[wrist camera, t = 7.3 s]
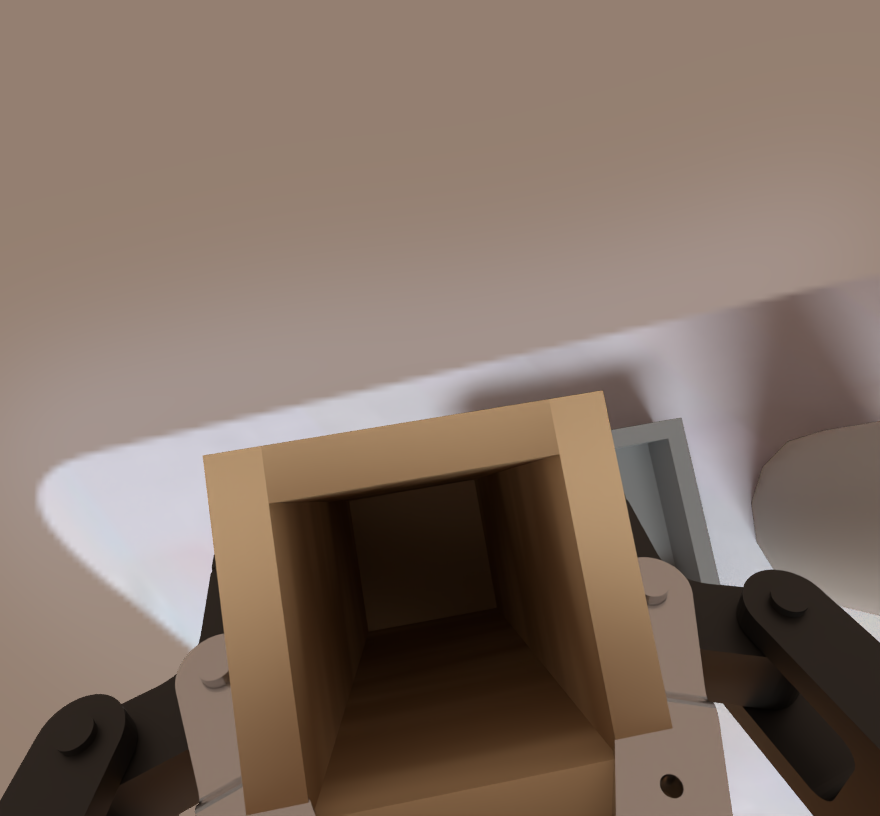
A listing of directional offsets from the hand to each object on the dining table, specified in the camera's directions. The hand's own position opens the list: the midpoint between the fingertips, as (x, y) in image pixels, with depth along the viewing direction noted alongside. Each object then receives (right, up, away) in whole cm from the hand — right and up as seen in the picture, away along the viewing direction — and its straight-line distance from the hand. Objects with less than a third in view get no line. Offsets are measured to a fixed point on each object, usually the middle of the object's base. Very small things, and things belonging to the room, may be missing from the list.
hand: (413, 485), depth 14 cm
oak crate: (0, -3, +5) cm, 6 cm away
